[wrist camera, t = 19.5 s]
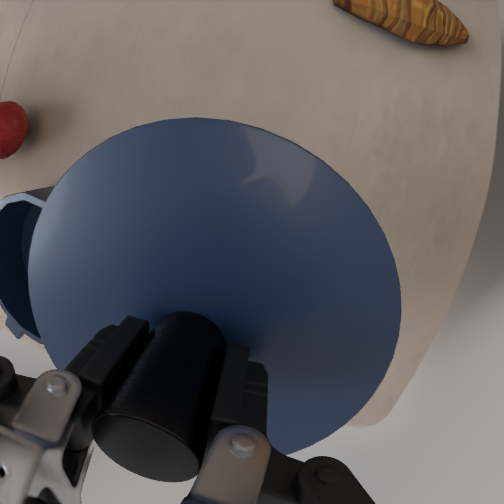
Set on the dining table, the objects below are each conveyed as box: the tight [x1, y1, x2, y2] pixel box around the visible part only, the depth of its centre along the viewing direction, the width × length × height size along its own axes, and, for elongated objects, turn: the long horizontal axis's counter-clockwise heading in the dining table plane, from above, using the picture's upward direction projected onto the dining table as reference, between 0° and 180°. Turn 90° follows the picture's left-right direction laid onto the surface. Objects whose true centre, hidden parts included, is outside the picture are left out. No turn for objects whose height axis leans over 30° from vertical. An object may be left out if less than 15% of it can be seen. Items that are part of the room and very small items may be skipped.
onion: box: [0, 101, 28, 159], centre depth 19 cm, size 6×6×8 cm
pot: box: [0, 186, 55, 344], centre depth 24 cm, size 14×20×6 cm
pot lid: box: [28, 117, 401, 482], centre depth 9 cm, size 15×15×6 cm
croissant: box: [333, 0, 469, 46], centre depth 16 cm, size 14×7×5 cm, turn 85°
